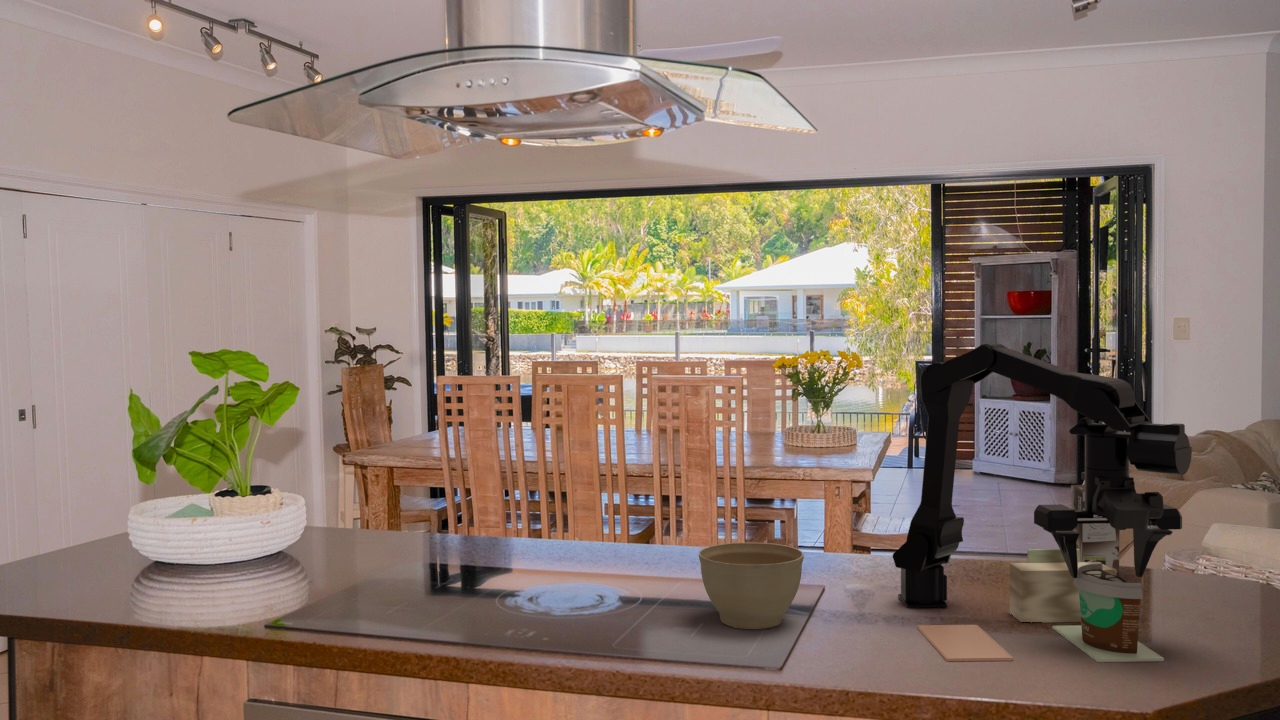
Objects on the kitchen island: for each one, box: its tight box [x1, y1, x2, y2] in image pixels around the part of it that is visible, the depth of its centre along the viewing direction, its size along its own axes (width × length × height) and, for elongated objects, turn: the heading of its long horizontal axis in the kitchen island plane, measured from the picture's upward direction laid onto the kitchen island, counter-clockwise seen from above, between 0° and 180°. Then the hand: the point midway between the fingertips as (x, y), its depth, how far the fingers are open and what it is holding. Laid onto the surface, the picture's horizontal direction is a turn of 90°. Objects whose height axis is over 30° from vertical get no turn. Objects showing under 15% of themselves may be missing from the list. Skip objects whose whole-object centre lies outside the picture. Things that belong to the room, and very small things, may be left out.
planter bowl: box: [698, 542, 805, 630], centre depth 157 cm, size 16×16×11 cm
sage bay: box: [1052, 624, 1165, 663], centre depth 145 cm, size 9×15×1 cm, turn 0°
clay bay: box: [916, 624, 1014, 662], centre depth 146 cm, size 9×15×1 cm, turn 0°
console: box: [1009, 548, 1114, 624], centre depth 158 cm, size 14×6×10 cm, turn 90°
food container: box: [1074, 563, 1144, 654], centre depth 144 cm, size 12×6×10 cm, turn 1°
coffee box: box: [1070, 484, 1121, 576], centre depth 181 cm, size 9×6×16 cm
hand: (1106, 577), depth 144 cm, fingers open, 9 cm apart
